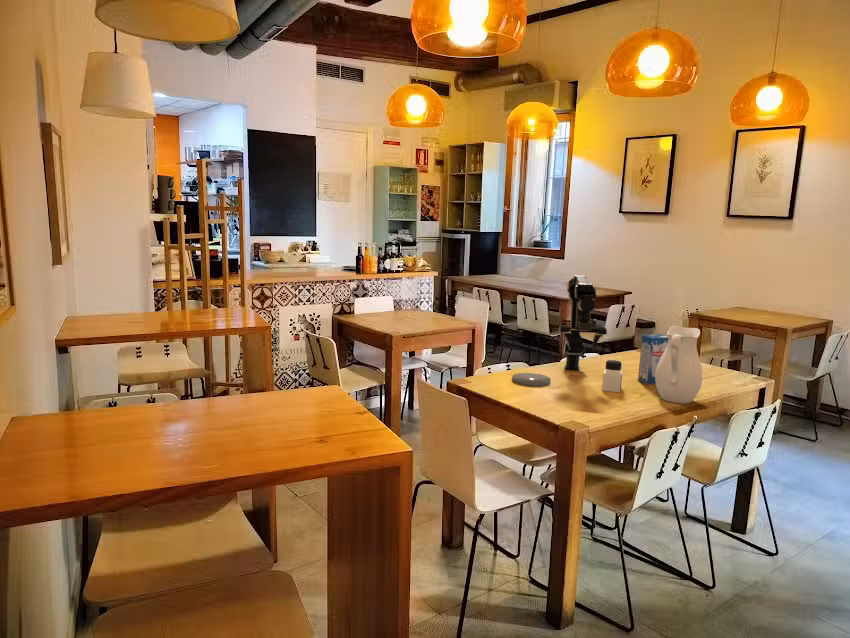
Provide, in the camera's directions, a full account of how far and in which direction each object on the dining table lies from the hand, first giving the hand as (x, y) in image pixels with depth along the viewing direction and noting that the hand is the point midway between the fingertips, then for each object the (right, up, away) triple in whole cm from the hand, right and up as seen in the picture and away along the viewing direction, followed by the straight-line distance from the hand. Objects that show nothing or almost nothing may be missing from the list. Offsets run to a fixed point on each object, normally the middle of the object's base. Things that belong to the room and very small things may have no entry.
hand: (581, 351), depth 260 cm
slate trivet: (-20, -13, +4) cm, 24 cm away
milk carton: (+33, -14, +10) cm, 37 cm away
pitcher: (+31, -19, -18) cm, 40 cm away
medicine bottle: (+11, -16, -4) cm, 20 cm away
